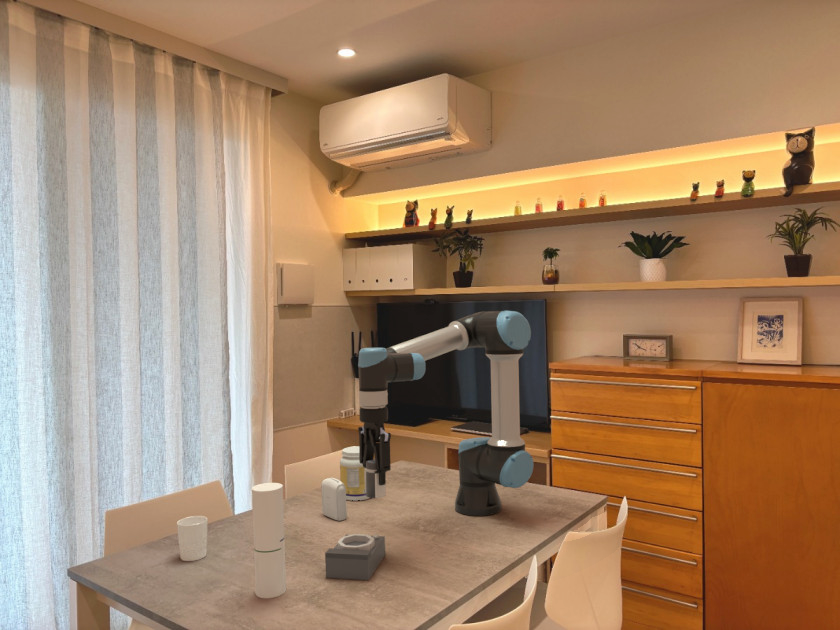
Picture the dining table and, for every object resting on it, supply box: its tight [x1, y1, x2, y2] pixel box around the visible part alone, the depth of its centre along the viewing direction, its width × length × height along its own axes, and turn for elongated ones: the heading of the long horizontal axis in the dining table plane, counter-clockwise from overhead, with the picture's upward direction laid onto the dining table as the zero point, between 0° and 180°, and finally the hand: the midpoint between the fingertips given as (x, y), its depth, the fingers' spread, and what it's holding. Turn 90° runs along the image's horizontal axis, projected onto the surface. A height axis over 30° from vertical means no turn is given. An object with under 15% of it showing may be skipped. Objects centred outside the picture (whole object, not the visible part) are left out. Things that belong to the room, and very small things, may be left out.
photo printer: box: [321, 477, 348, 522], centre depth 201 cm, size 10×4×12 cm, turn 39°
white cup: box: [176, 515, 208, 562], centre depth 171 cm, size 8×8×10 cm
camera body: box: [324, 533, 386, 581], centre depth 162 cm, size 16×11×7 cm
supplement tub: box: [339, 445, 375, 502], centre depth 222 cm, size 12×12×17 cm
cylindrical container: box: [251, 482, 287, 599], centre depth 148 cm, size 7×7×25 cm
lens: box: [366, 458, 382, 499], centre depth 165 cm, size 5×5×9 cm
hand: (375, 494), depth 165 cm, fingers closed on lens, 5 cm apart
